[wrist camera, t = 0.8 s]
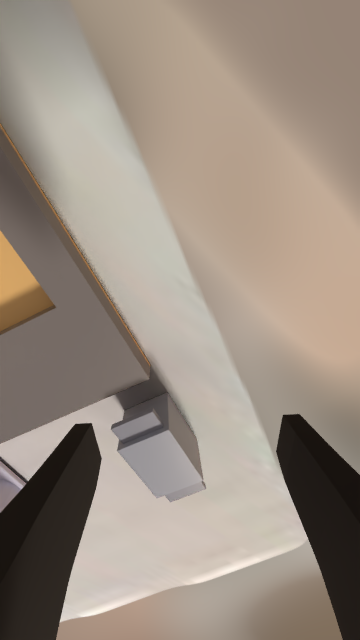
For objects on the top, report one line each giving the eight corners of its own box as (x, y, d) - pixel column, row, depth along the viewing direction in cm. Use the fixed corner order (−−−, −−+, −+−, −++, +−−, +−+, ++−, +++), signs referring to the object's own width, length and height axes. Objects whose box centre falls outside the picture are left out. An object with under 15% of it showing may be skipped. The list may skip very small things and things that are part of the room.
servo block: (165, 464, 24) (166, 509, 21) (114, 396, 21) (104, 436, 17) (203, 449, 24) (211, 492, 20) (158, 376, 20) (158, 413, 17)
